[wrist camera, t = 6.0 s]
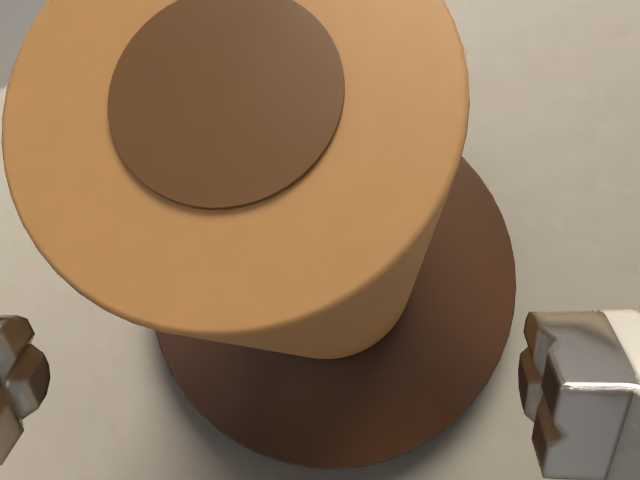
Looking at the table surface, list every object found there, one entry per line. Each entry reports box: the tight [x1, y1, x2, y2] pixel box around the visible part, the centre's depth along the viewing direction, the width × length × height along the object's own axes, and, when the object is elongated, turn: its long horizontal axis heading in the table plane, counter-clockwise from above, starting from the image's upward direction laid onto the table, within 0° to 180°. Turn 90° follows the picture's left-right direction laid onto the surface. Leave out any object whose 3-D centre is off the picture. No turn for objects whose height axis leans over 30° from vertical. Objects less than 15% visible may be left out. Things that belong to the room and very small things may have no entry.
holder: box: [155, 156, 516, 469], centre depth 22 cm, size 14×14×2 cm
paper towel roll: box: [2, 0, 470, 359], centre depth 14 cm, size 6×7×14 cm
